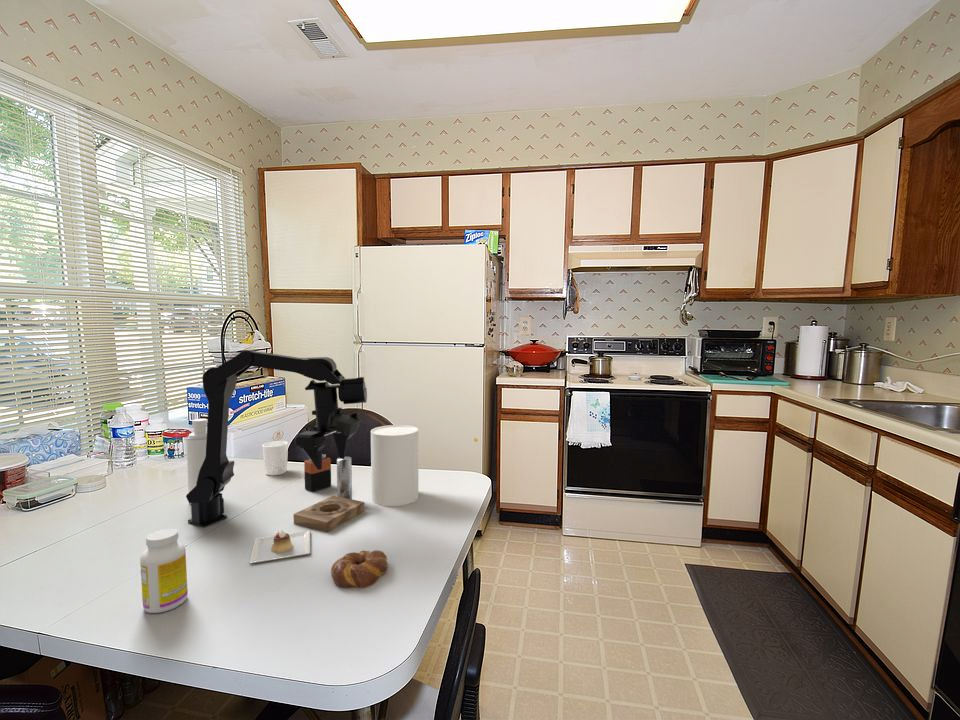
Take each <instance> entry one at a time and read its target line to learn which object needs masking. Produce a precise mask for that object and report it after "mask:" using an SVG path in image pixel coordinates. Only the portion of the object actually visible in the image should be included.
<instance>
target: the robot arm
mask: <svg viewBox="0 0 960 720" xmlns="http://www.w3.org/2000/svg"><path fill="white" fill-rule="evenodd" d="M336 363H337V362H336V361H334V359H333V358H331V357H327V356H320V357H319V356H317V357H314V356H312V357H297V356H291V355H282V354H277V353H270V352H262V351H257V350H254V349H246V350H245V349H244V350H242V351H241V352H239V353H238V354H237V355H235V356H234V357H232V358H230V359H229V360H227V361H225V362H223V363H221V364H220V365H219V366H215V367H211V368H208V369H207V370H206V371H205V372H203V374H202V379H201V380H202V386H203V393H204V395H205V397H206V400H207V403H208V407H207V408H208V410H207V426H206V431H207V438H206V455H205V460H204V462H203V464H202V466H201V468H200V471H199V474H198V478H197V482H196V486H195V487H194V488H193V489H192V490H191V491H190V492H188V493H186V495H185V497H186V499H187V501H188V503H189V504H190V503H191V504H190V507H191V508H190V510H191V511H190V512H191V513H190V514H191V518H189V519H188V520H187V523H188V524H193V525H195V526H198V527H208V526H209V525H211V524H214V523H216V522H219V521H221V520H224V519H227V518H228V516H227V515H226V514H225V499H224V497H223V493H221V492H223V491H224V490H225V487H226V486H227V484H229V483H230V482H231V481H232V480H231V479H232V478H233V477H235V473H234V466H235V461H234V460H230V461H229V459H228V456H227V443H228V432H229V431H228V430H229V429H228V426H229V416H230V415H229V414H230V413H229V412H230V401H231V399H232V396H233V395H234V392H235V390H236V386H237V382H238V378H239V377H240V376H241V375H243V374H244V373H245V372H247V371H248V370H249V369H250V368H251V367H256V368H261V369H262V368H263V369H270V370H275V371H283V372H288V373H289V372H290V373H296V374H298V375H302V376H303V377H306V378H309V379H311V380H310V381H309V383H308V384H307V385H306V386H305V388H304V390H305V391H312V390H313V399H314V401H313V402H314V410H311V415H312V416H315V422H316V425H314V426H313V427H312V430H313V431H312V430H306V431H303V432H300V433H297V434H296V436H295V438H294V443H295V446H296V447H299V448H300V449H303V450H304V451H305V453H306V454H307V456H308V457H309V459H311V460H312V462H313V463H314V465H315V466H316V468H317V469H318V470H321V469H322V454H323V448H325V446H326V443H324V442H325V439H326V438H327V437H329V436H331V435H333V439H334V443H335V447H336V449H337V453H338V456H339V457H340V459H344V458H345V457H346V453H347V449H348V446H349V441H350V438H351V437H353V436H354V435H355V434H357V432H358V430H359V429H360V426H362V425H363V423H362V415H361V413H360V412H357V411H356V412H353V413H351V414H344V409H343V407H339V401H340V402H341V403H343V404H344V405H352V404H363V403H364V404H366V403H367V401H368V390H367V389H368V388H367V386H366V382H365V377H364V376H358V377H353V378H346V377H344V375H343V374H342V373H341V371H339V370H338V367H337V364H336ZM318 381H319V382H318Z"/></svg>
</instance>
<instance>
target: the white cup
mask: <svg viewBox="0 0 960 720" xmlns="http://www.w3.org/2000/svg"><path fill="white" fill-rule="evenodd" d="M288 449H289V442H288V441H285V440H274V441H273V440H272V441H267V442H265V443H263V444H262V455H263V456H262V457H263V463H264V464H263V465H264V473H265V475H267V476H280V475H283V474H286V473H287V471H288V457H289V456H288V453H289V452H288V451H289V450H288Z"/></svg>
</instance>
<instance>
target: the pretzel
mask: <svg viewBox="0 0 960 720" xmlns="http://www.w3.org/2000/svg"><path fill="white" fill-rule="evenodd" d="M387 560H388V556H387V555H386V554H385V552H384V551H382V550H378V549H377V550H373V551H372V552H370V550H361V551H359V552H355V551H353V552H348V553H345V555H343V556H342V557H340V558H338V559H337V560H336V561H335V562H334V563H332V564H333V565H332V567H331V569H330V573H331V578H332V580H333V582H334V583H335V584H336V585H337V586H339V587H341V588H354V587H357V588H367V587H369V586H372V585H374V583H375V582H377V580H378V579H379V578H381V577H382V575H383V574H384V575H385V574H386V572H387V570H388V568H389V567H388V561H387Z"/></svg>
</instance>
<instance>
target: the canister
mask: <svg viewBox="0 0 960 720" xmlns="http://www.w3.org/2000/svg"><path fill="white" fill-rule="evenodd" d="M370 463H371V464H370V466H371V467H370V468H371V470H370V471H371V472H370V473H371V476H370V479H371V486H370V487H371V501H372V503H374V504H375V505H377V506H378V505H379V506H383V507H399V506H400V507H401V506H406V505H408V504H411V503H414V502H415V501H417V500H418V498H419V493H420V492H419V428H418V427H416V426H413V425H408V424H406V425H405V424H393V425H392V424H391V425H382V426H378V427H374V428H372V429H371V430H370Z"/></svg>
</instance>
